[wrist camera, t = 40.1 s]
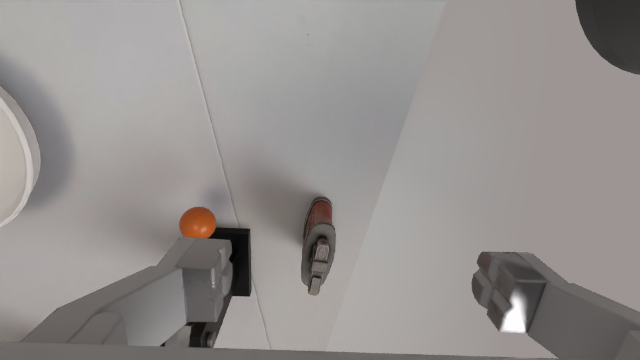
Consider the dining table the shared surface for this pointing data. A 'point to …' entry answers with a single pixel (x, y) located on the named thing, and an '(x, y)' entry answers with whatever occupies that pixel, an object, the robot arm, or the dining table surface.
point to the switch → (194, 226)
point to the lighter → (317, 244)
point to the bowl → (16, 158)
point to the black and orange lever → (240, 286)
